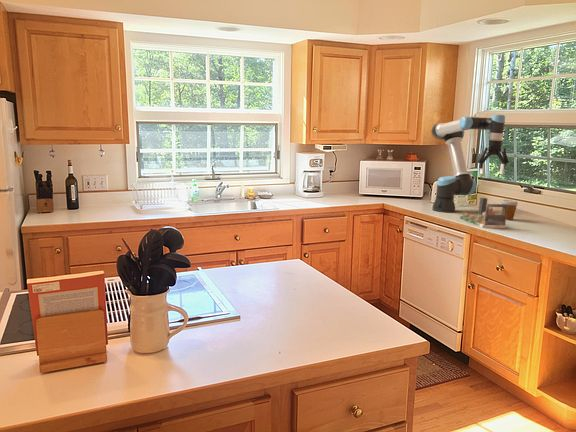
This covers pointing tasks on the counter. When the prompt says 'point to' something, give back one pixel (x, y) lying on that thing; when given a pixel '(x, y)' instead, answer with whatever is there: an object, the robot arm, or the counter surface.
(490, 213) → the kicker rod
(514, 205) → the disposable coffee cup
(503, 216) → the pitch
